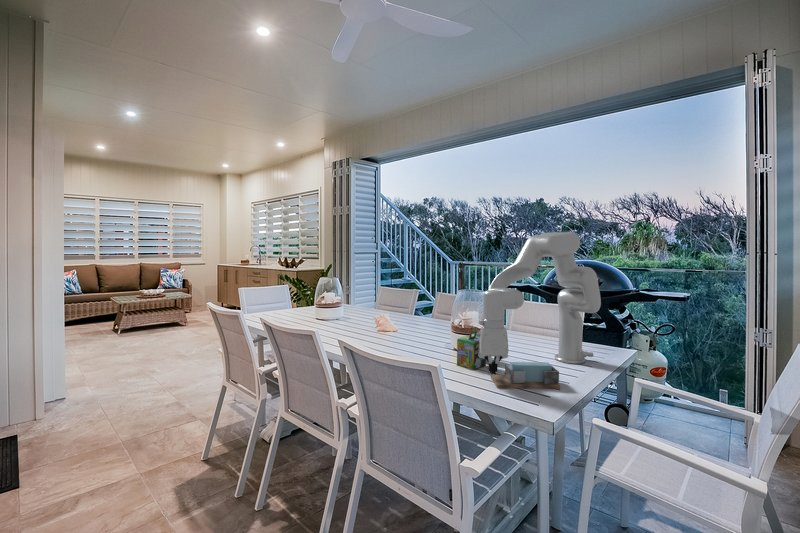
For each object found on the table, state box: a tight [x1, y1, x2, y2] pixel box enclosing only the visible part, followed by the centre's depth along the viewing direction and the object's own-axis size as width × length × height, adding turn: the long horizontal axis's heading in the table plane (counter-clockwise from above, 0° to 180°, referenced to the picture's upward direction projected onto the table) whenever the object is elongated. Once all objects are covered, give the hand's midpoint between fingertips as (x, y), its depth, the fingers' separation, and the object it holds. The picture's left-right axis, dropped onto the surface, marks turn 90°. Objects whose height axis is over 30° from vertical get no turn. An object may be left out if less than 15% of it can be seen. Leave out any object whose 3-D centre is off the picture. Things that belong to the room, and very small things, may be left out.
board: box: [490, 365, 561, 390], centre depth 145 cm, size 22×11×6 cm, turn 89°
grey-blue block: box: [509, 361, 553, 382], centre depth 145 cm, size 14×4×6 cm, turn 89°
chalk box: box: [456, 330, 487, 371], centre depth 166 cm, size 9×9×15 cm
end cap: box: [504, 363, 525, 383], centre depth 145 cm, size 5×8×4 cm, turn 179°
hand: (492, 373), depth 146 cm, fingers closed
